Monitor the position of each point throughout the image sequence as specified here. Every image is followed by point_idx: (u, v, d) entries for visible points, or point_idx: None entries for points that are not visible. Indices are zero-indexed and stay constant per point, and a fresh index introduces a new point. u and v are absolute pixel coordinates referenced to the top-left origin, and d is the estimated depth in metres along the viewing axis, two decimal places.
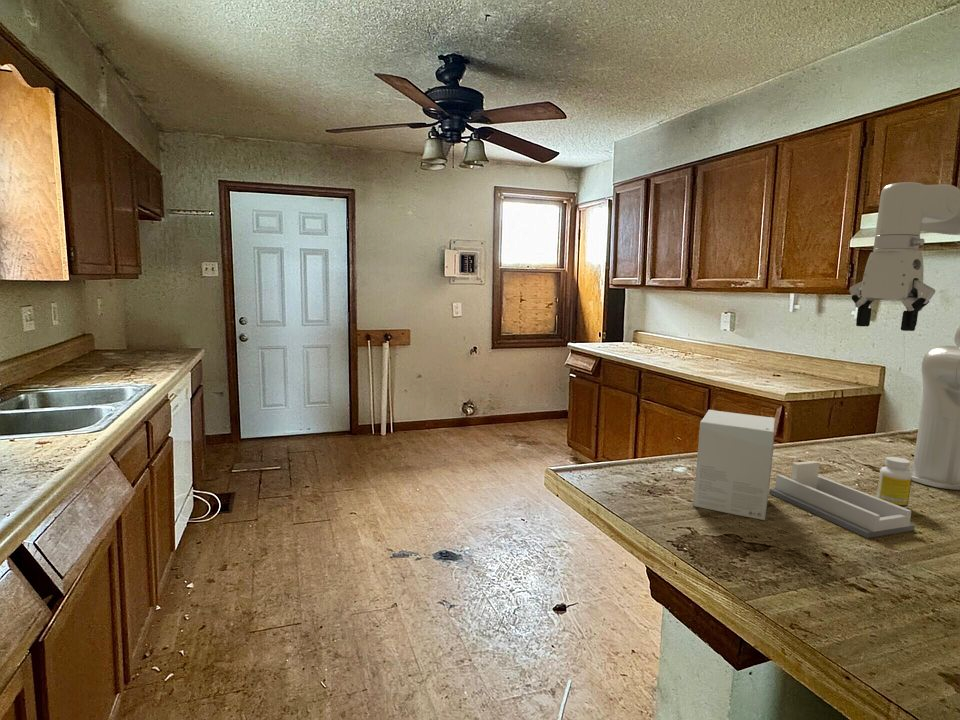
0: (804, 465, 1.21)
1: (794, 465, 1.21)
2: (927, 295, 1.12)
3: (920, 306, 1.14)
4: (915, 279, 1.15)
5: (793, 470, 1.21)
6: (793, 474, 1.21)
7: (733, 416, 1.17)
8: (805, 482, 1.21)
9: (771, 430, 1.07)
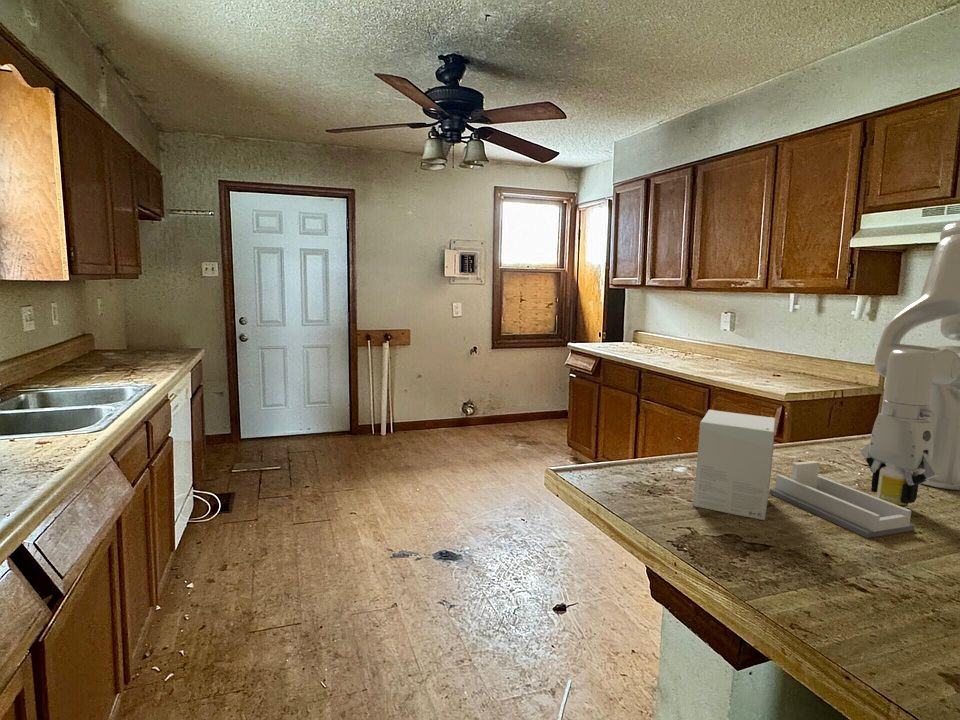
0: (804, 465, 1.21)
1: (794, 465, 1.21)
2: (929, 476, 1.11)
3: (920, 482, 1.13)
4: (924, 453, 1.12)
5: (793, 470, 1.21)
6: (793, 474, 1.21)
7: (733, 416, 1.17)
8: (805, 482, 1.21)
9: (771, 430, 1.07)
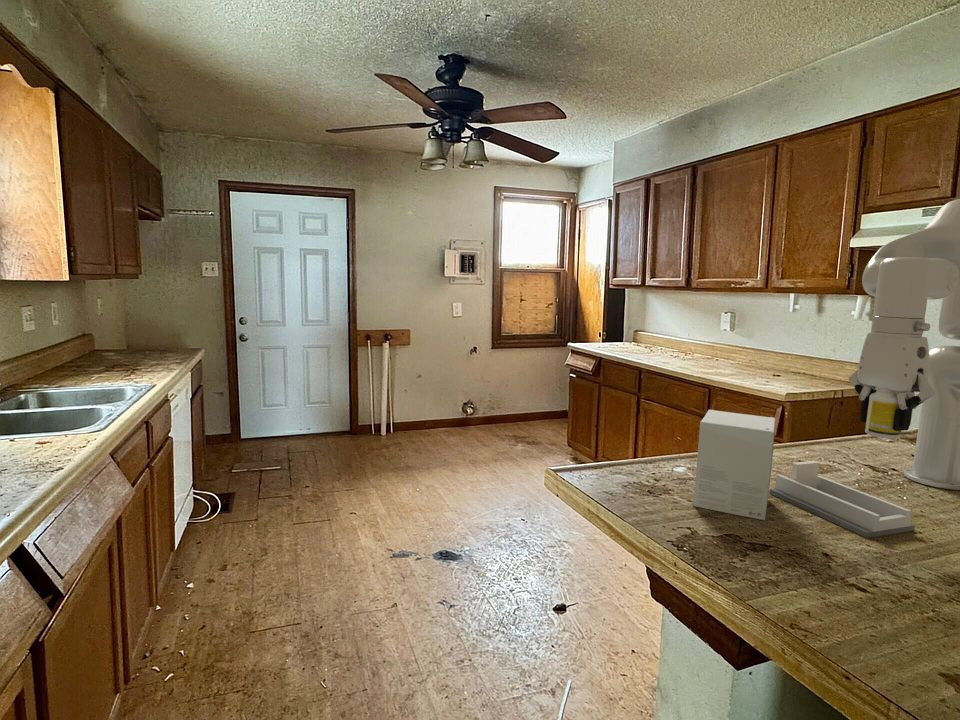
0: (804, 465, 1.21)
1: (794, 465, 1.21)
2: (924, 397, 0.98)
3: (914, 405, 1.00)
4: (919, 372, 1.00)
5: (793, 470, 1.21)
6: (793, 474, 1.21)
7: (733, 416, 1.17)
8: (805, 482, 1.21)
9: (771, 430, 1.07)
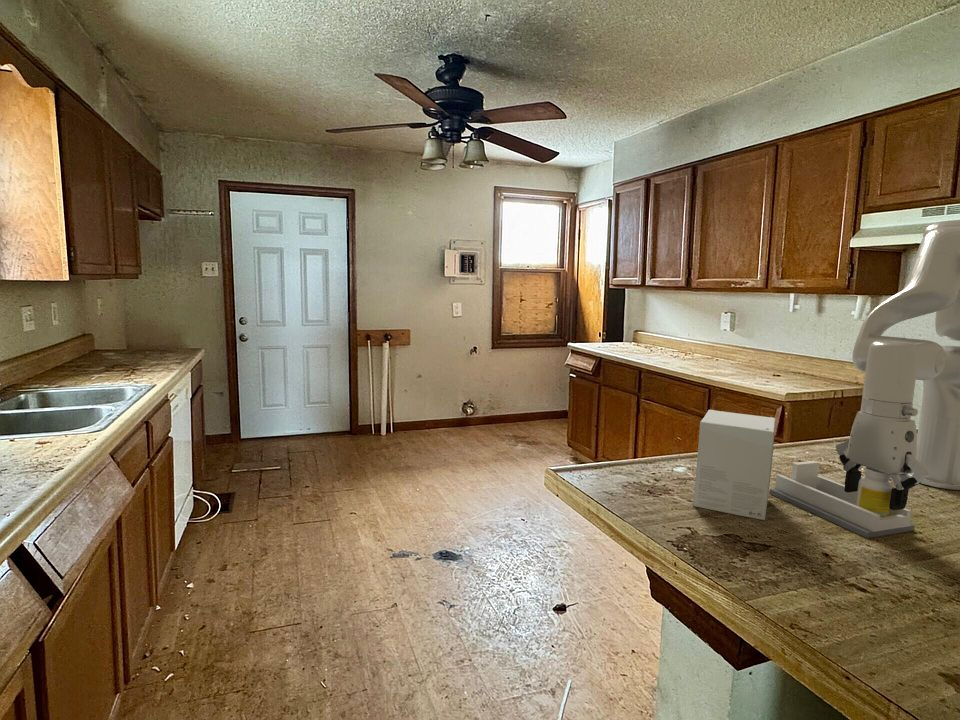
0: (804, 465, 1.21)
1: (794, 465, 1.21)
2: (919, 477, 0.99)
3: (911, 486, 1.01)
4: (907, 453, 1.02)
5: (793, 470, 1.21)
6: (793, 474, 1.21)
7: (733, 416, 1.17)
8: (805, 482, 1.21)
9: (771, 430, 1.07)
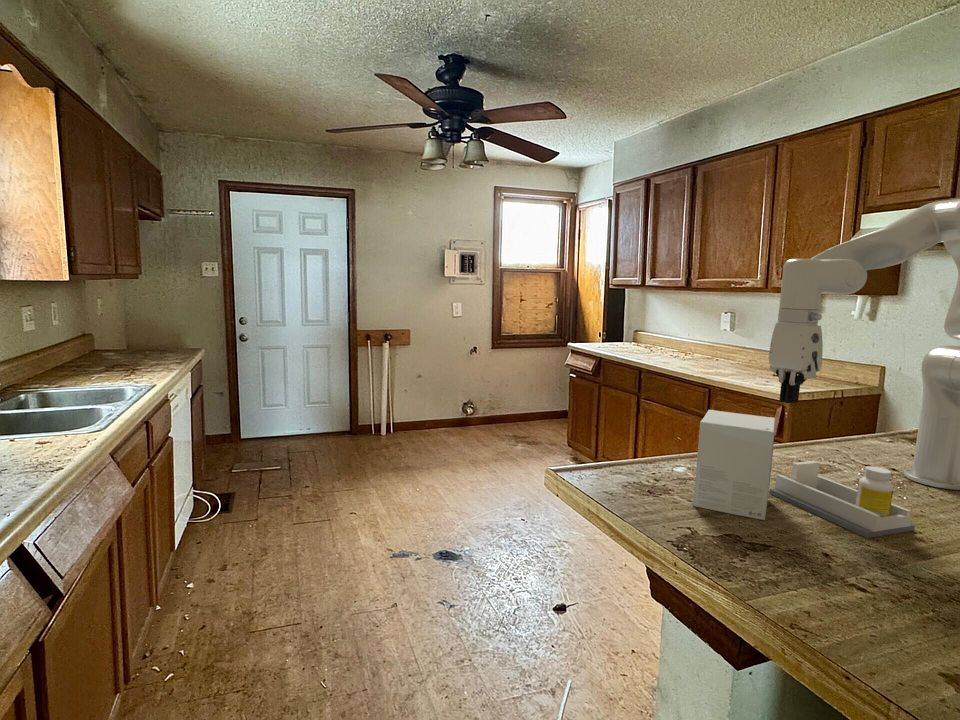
0: (804, 465, 1.21)
1: (794, 465, 1.21)
2: (807, 377, 1.20)
3: (800, 381, 1.22)
4: (812, 357, 1.20)
5: (793, 470, 1.21)
6: (793, 474, 1.21)
7: (733, 416, 1.17)
8: (805, 482, 1.21)
9: (771, 430, 1.07)
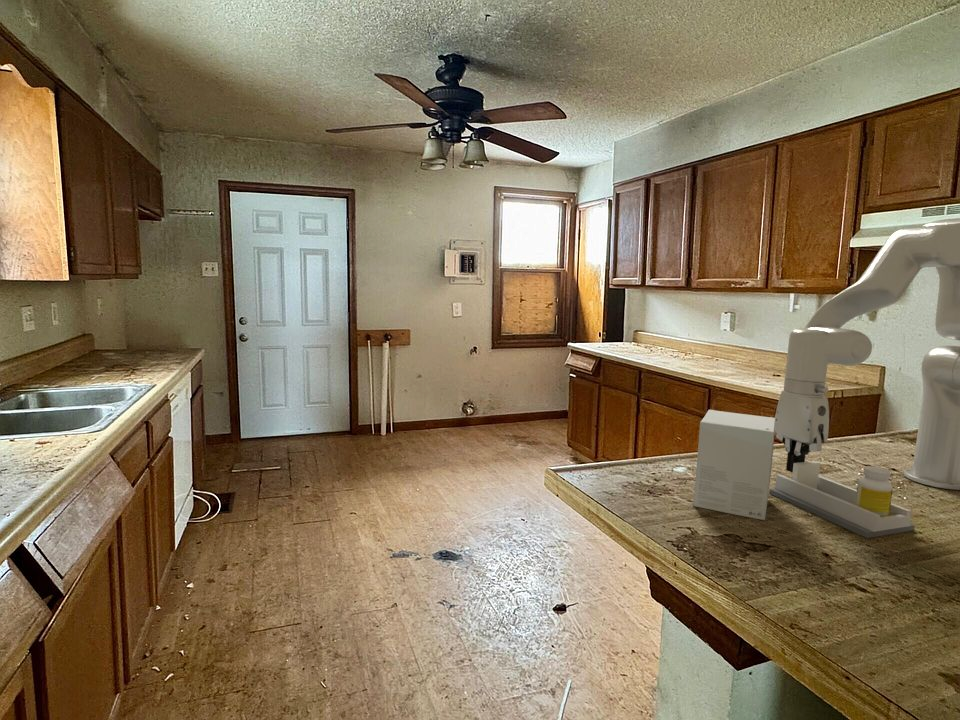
0: (805, 465, 1.20)
1: (795, 465, 1.20)
2: (812, 449, 1.19)
3: (806, 452, 1.21)
4: (818, 429, 1.19)
5: (794, 470, 1.21)
6: (794, 474, 1.21)
7: (733, 416, 1.17)
8: (806, 483, 1.21)
9: (771, 430, 1.07)
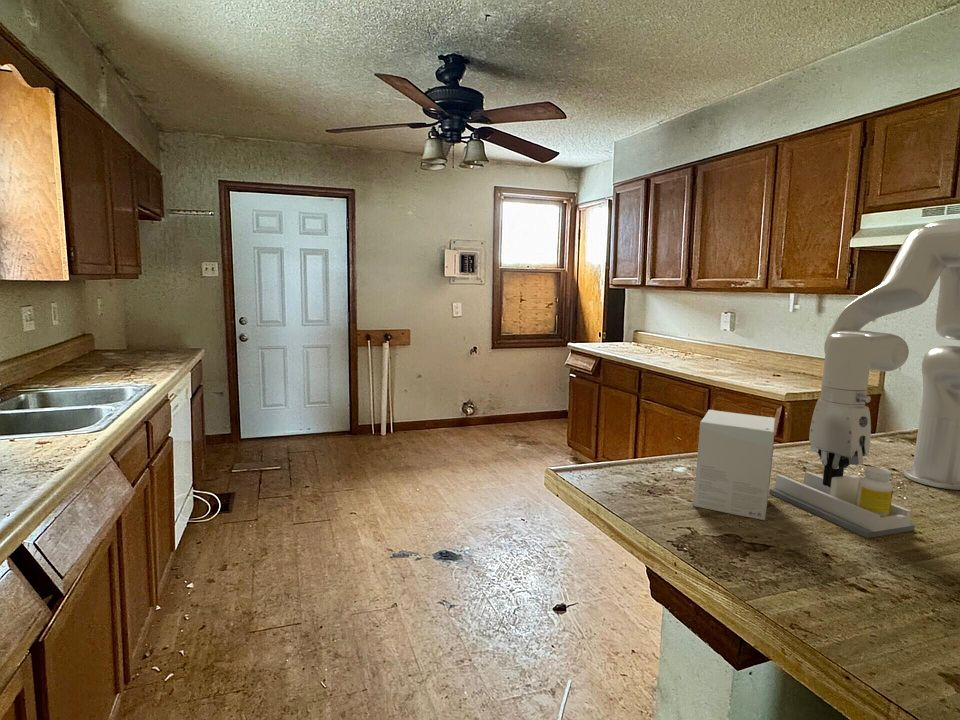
0: (844, 480, 1.12)
1: (833, 480, 1.12)
2: (852, 463, 1.11)
3: (845, 465, 1.13)
4: (859, 441, 1.10)
5: (832, 485, 1.12)
6: (832, 490, 1.12)
7: (733, 416, 1.17)
8: (845, 498, 1.13)
9: (771, 430, 1.07)
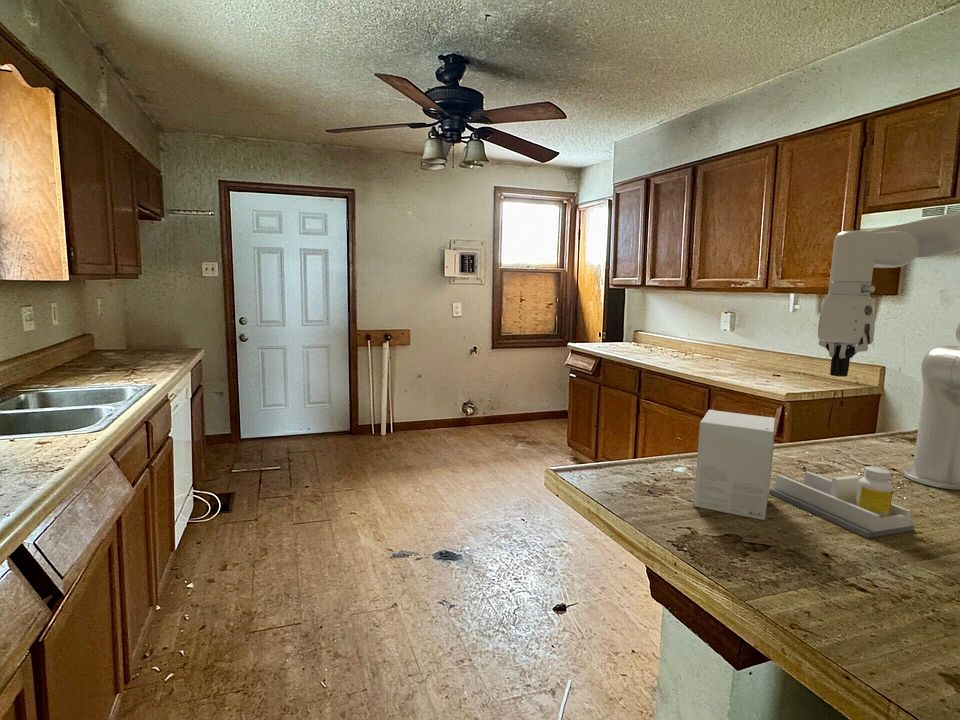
0: (845, 480, 1.12)
1: (834, 480, 1.12)
2: (858, 350, 1.20)
3: (851, 354, 1.22)
4: (864, 329, 1.19)
5: (833, 485, 1.12)
6: (833, 490, 1.12)
7: (733, 416, 1.17)
8: (845, 499, 1.13)
9: (771, 430, 1.07)
